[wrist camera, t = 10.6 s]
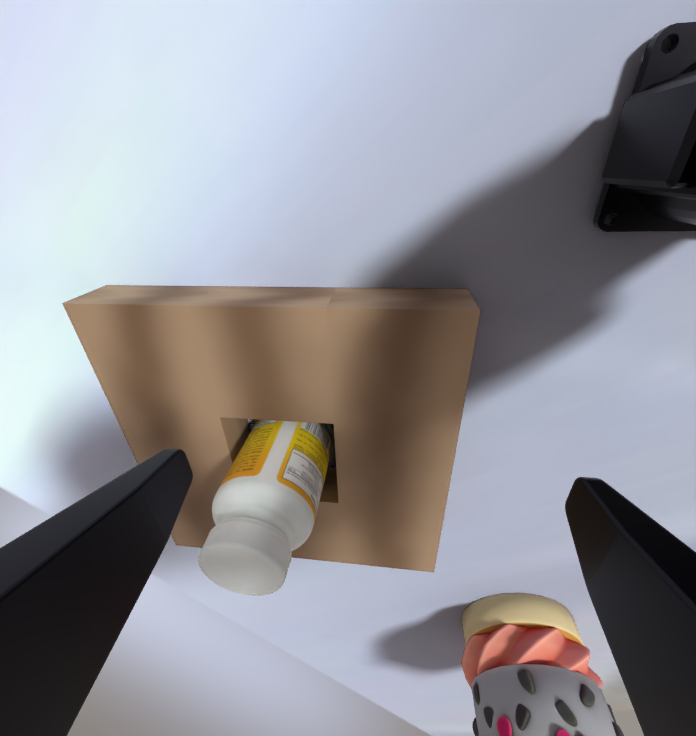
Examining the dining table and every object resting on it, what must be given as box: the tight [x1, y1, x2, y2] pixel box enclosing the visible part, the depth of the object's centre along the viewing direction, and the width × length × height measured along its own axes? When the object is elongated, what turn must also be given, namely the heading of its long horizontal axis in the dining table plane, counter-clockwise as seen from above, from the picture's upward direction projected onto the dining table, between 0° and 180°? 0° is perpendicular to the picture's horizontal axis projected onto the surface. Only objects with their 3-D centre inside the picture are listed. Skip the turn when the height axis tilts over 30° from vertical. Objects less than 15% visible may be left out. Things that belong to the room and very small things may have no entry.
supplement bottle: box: [198, 419, 334, 595], centre depth 19 cm, size 5×5×10 cm
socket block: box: [62, 285, 481, 572], centre depth 22 cm, size 20×20×3 cm
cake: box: [461, 593, 624, 736], centre depth 26 cm, size 10×10×15 cm
